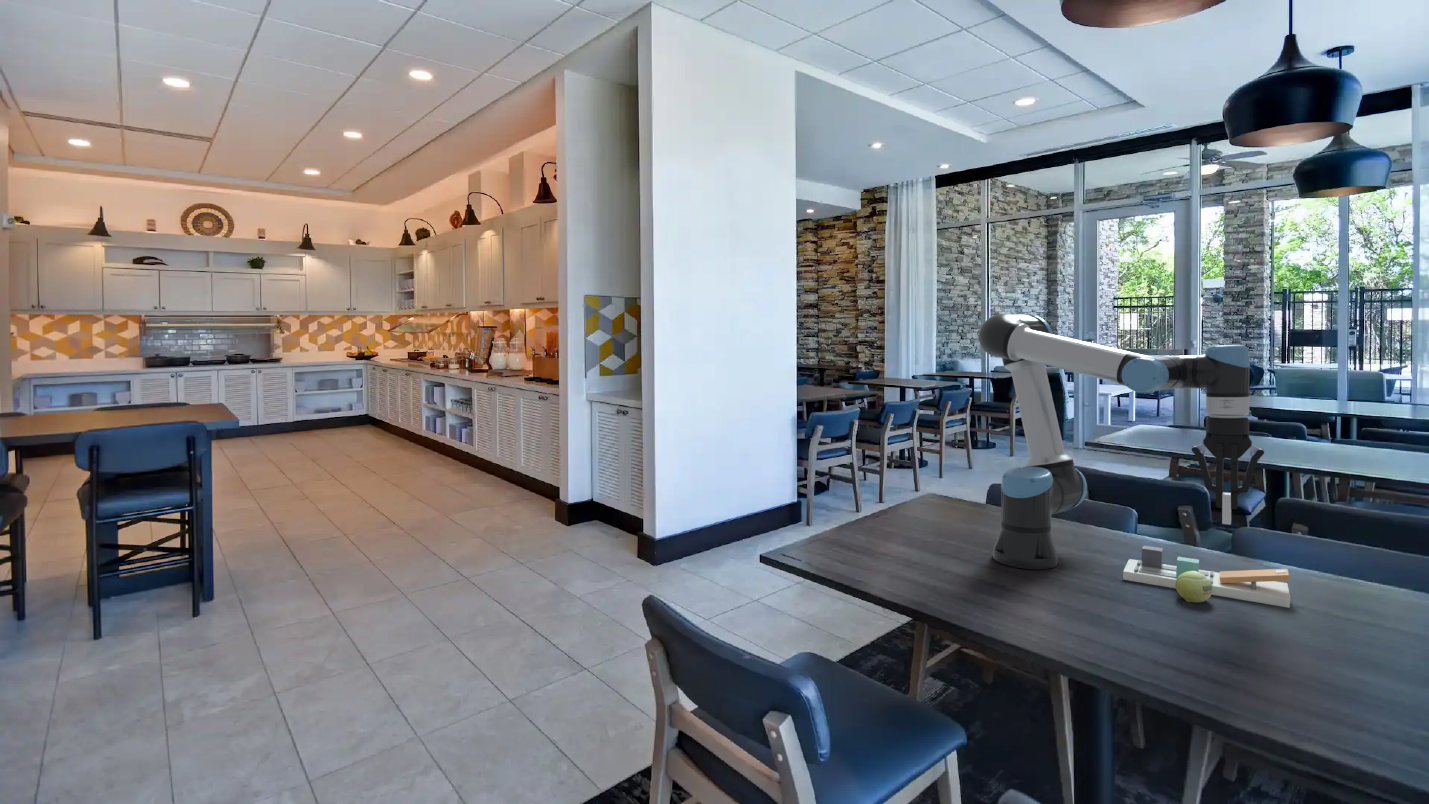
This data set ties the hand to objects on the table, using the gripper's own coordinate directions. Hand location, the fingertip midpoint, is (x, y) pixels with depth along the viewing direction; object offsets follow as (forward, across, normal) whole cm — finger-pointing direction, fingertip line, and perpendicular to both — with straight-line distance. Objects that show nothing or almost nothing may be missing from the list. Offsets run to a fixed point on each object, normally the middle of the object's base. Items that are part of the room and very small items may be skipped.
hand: (1226, 522), depth 150 cm
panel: (+16, -4, +2) cm, 16 cm away
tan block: (+12, +5, +2) cm, 13 cm away
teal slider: (+13, -7, -1) cm, 15 cm away
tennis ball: (+16, -6, -9) cm, 19 cm away
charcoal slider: (+13, -14, +5) cm, 20 cm away
